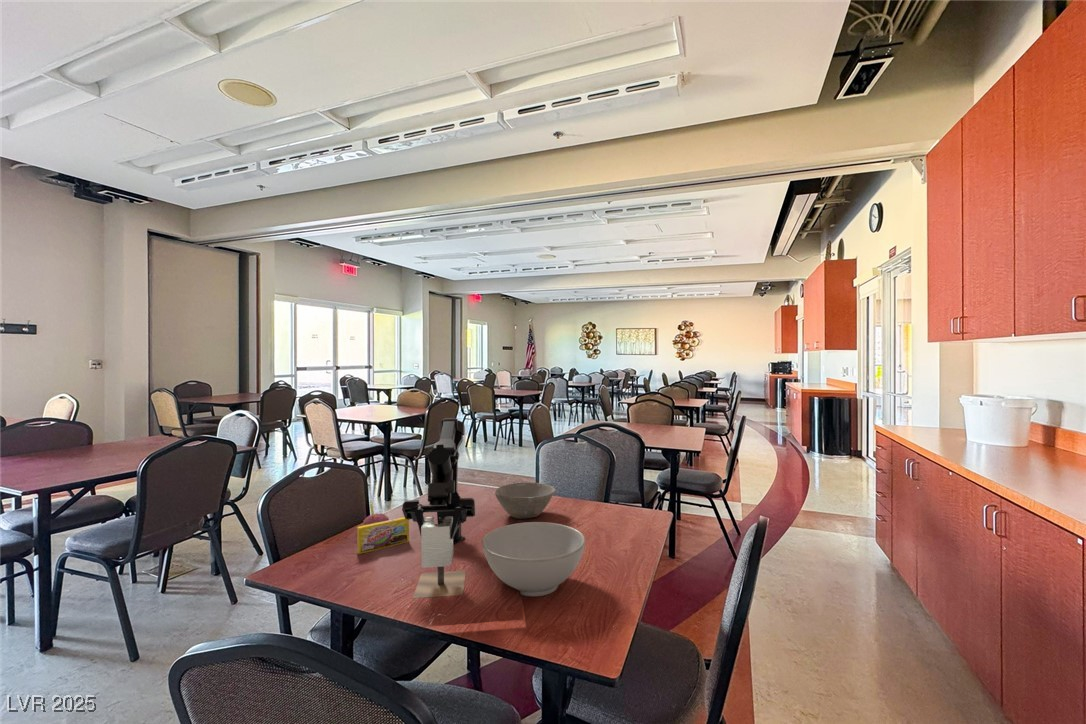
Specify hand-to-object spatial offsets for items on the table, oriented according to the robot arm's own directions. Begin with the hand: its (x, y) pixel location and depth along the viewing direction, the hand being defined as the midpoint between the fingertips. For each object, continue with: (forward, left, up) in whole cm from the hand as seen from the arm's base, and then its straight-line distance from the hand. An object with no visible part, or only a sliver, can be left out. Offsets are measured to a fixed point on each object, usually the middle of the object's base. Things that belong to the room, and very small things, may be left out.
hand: (436, 539), depth 121 cm
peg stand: (-1, 0, -13) cm, 13 cm away
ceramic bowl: (-62, -10, -13) cm, 65 cm away
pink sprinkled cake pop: (-22, -46, -13) cm, 53 cm away
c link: (-1, -1, -6) cm, 6 cm away
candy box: (-15, -35, -13) cm, 41 cm away
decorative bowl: (-13, +21, -13) cm, 28 cm away
